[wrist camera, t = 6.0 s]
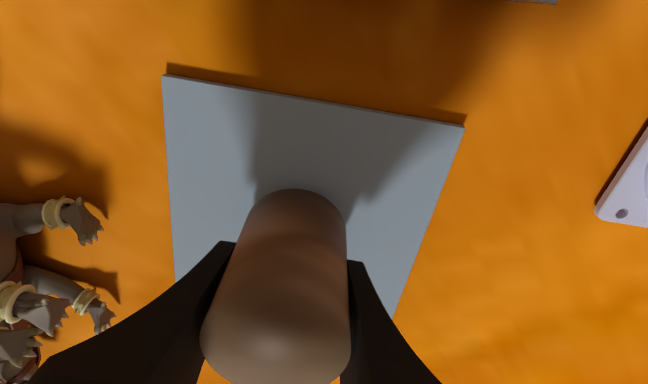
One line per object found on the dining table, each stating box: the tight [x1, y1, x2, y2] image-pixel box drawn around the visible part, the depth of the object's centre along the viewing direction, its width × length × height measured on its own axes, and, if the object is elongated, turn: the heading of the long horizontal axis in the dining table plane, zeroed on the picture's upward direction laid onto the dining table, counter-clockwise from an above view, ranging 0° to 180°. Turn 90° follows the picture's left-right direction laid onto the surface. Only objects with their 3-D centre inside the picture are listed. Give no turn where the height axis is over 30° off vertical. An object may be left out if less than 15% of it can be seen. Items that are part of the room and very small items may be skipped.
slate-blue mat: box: [161, 74, 465, 319], centre depth 17 cm, size 12×12×1 cm
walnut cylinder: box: [199, 188, 351, 384], centre depth 13 cm, size 4×4×6 cm
